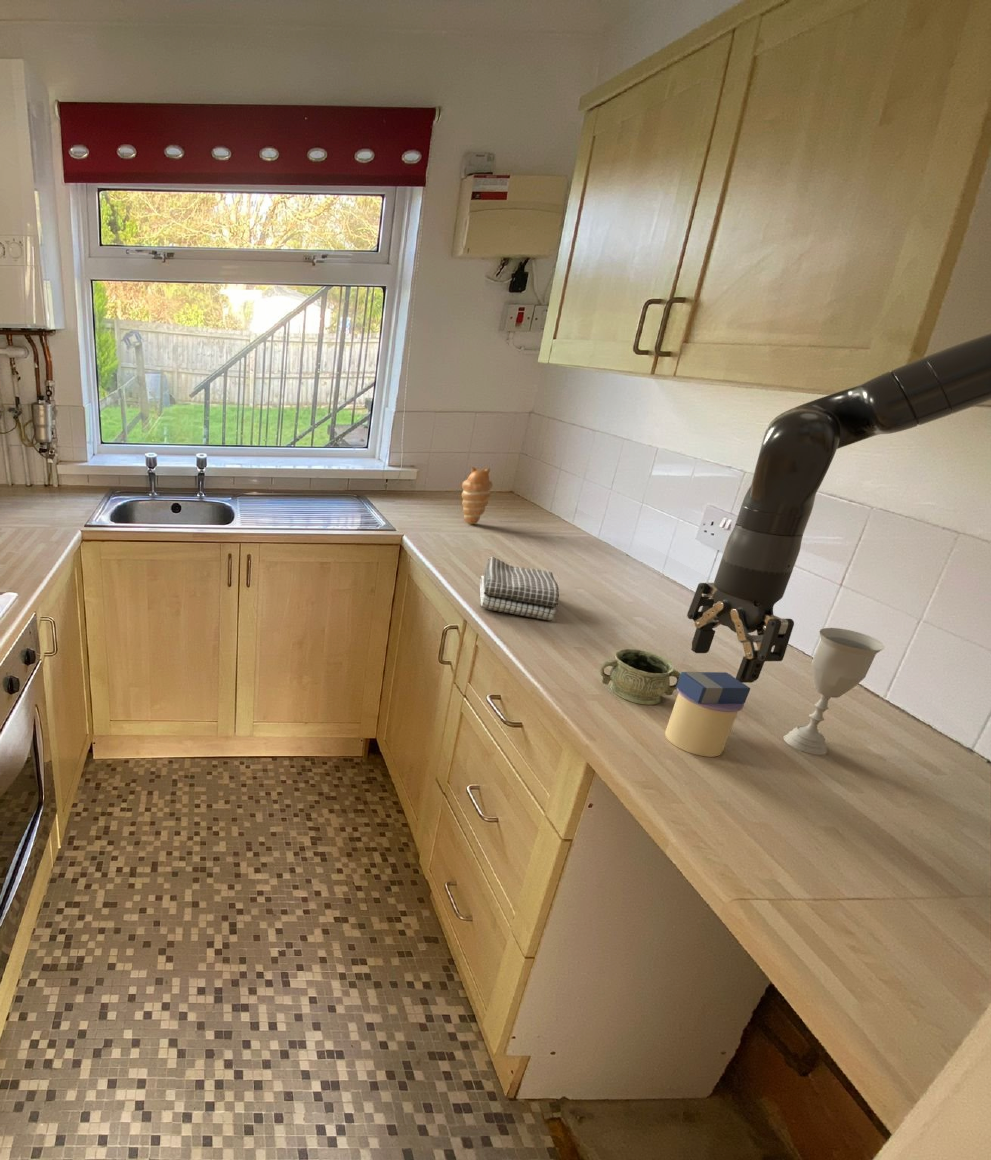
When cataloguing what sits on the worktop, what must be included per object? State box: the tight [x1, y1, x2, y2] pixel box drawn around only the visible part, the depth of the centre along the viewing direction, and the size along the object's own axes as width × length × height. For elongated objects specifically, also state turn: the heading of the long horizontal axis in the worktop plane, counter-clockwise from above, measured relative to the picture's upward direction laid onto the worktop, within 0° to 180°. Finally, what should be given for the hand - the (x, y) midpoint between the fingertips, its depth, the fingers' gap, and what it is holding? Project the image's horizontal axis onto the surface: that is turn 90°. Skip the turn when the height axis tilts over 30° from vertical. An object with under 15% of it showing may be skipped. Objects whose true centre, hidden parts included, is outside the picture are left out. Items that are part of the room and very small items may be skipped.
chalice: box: [782, 627, 886, 756], centre depth 93 cm, size 7×7×18 cm
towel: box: [478, 556, 560, 621], centre depth 143 cm, size 15×18×8 cm
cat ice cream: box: [461, 466, 493, 525], centre depth 199 cm, size 9×8×18 cm
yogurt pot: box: [664, 688, 745, 758], centre depth 95 cm, size 8×8×8 cm
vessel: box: [599, 648, 681, 706], centre depth 108 cm, size 12×9×6 cm
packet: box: [676, 671, 751, 705], centre depth 93 cm, size 7×5×3 cm, turn 92°
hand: (720, 666), depth 92 cm, fingers open, 8 cm apart
